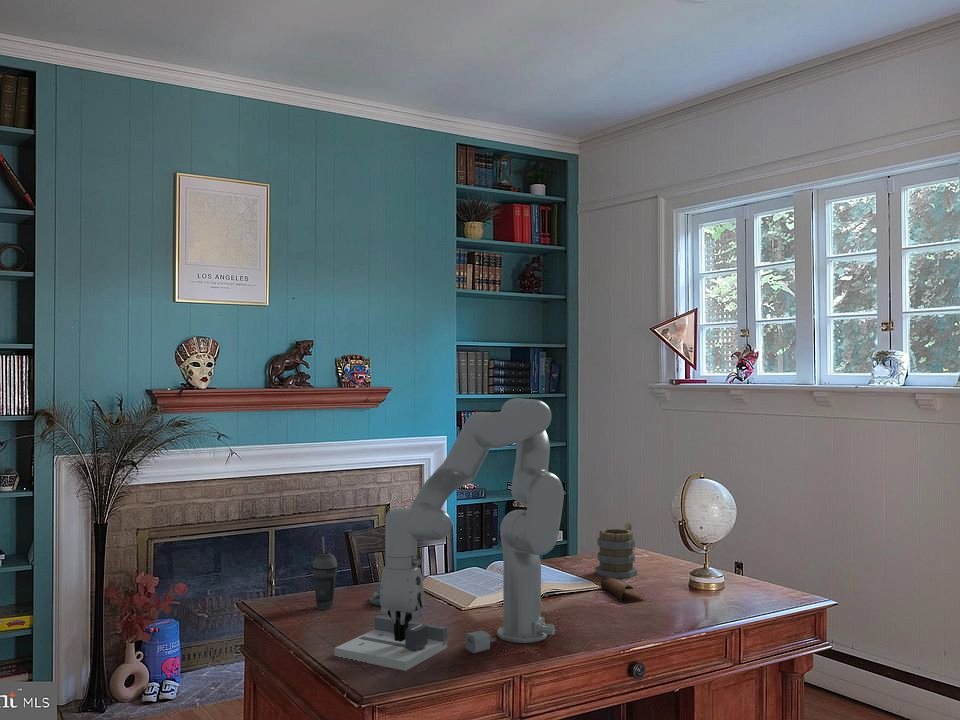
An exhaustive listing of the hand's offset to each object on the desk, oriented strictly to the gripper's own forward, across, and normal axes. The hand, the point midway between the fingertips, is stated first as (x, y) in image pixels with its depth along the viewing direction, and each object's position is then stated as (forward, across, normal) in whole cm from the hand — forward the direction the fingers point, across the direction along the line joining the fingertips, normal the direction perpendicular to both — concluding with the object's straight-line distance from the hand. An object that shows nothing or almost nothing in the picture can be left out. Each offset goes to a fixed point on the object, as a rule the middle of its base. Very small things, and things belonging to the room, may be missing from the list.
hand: (401, 639), depth 200 cm
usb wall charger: (+4, -15, -12) cm, 20 cm away
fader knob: (+1, -4, 0) cm, 5 cm away
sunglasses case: (+4, -29, -76) cm, 82 cm away
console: (+3, +3, 0) cm, 4 cm away
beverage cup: (+4, +40, -22) cm, 46 cm away
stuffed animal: (+4, +28, -35) cm, 45 cm away
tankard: (+4, -19, -104) cm, 106 cm away
